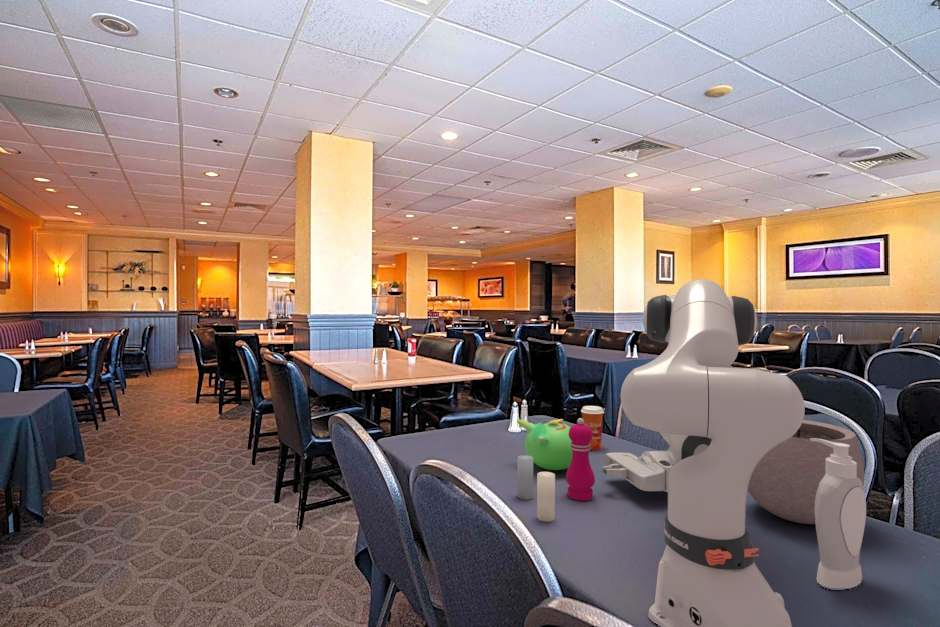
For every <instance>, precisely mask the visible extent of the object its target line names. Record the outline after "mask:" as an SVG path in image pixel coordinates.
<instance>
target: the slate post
mask: <svg viewBox="0 0 940 627" xmlns="http://www.w3.org/2000/svg"><path fill="white" fill-rule="evenodd" d="M516 459H517V460H516V461H517V464H516V465H517V467H516V469H517V472H516V473H517V475H516V476H517V477H516V478H517V479H516V480H517V481H516V482H517V483H516V484H517V485H516V487H517V488H516V489H517V490H516V491H517V492H516V496H517V498H518V499H519V498H520V500H523V499H524V501H529V500H528V499H530V500H532V499H533V498H534V462H533V457H532V456H528V454H526V455H518V456H517V458H516Z"/></svg>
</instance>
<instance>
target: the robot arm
mask: <svg viewBox="0 0 940 627" xmlns="http://www.w3.org/2000/svg"><path fill="white" fill-rule="evenodd" d="M642 325H643V328H644V331H645V332H646V336H647V337H648V338H649V339H650V341H653V342H656V343H661V344H666V343H668V344H667V347H666V348H665V349H664V351H663V352H662V353H660V355H658V356H657V357H655V358H654V359H653V360H651V361H649V362H648V363H645V364H643V365H641V366H637V367H635V368H633V369H632V370H631V371H630V372H629V373H628V374H627V376H626V377H625V379H624V380H623V383H622V385H621V388H620V403H621V408H622V410H623V412H624V415H625V416H626V418H627V419H628V421H629V422H630V423H631V424H632V425H633V426H636V427H640V428H643V429H646V430H650V431H654V432H656V433H658V434H659V435H660V436H661V437H662V438H663V439H664V440H665V441H666V442H667V444H668V446H669V447H668V449H667V450H651V451H648V450H647V451H643V452H642V454H641V456H637V455H635V454H633V453H630V452H607V453H606V454H605V461H604V462H605V466H604V465H603V466H602V468H601V470H602V474H603V475H604V474H605V476H607V477H609V478H610V477H612V478H613V477H614V478H620V479H624V480H626V481H628V482H629V483H630V484H631V485H633V486H634V487H636V488H637V489H639V490H641V491H644V492H665V493H667V514H666V515H665V517H664V524H663V532H664V539H663V540H664V541H665V544H666V546H665V549H664V551H663V554H662V557H661V558H660V560H659V563H658V567H657V577H656V578H657V579H656V585H655V586H656V587H655V597H654V603H653V604H652V605H651V606H650V607H649V608H648V619H649V620H650V621H651V622H653V623H654V624H655V623H656V624H658V625H659V626H661V627H793V626H792V622H791V617H790V615H789V613H788V610H786V608H785V605H786V604H785V600H784V598H783V596H782V595H781V594H780V593H779V592H776V591H775V592H774V590H773V589H772V587H771V586H770V584H769V582H768V581H767V580H766V578H765V576H764V575H763V573H761V571H760V569H759V568H758V566H757V565H756V563H755V560H756V559H755V557H759V556H760V554H759V553H756V552H759V551H760V549H759V547H754V548H753V547H752V541H751V538H750V536H749V532H748V529H747V527H746V512H747V511H746V510H747V499H748V493H749V492H748V485H749V481H750V478H751V475H752V473H753V471H754V469H755V467H756V466H757V464H758V463H759V461H760V460H761V459H762V458H763V457H764V456H765V455H766V454H767V452H769V451H770V450H771V449H772V448H773V447H775V446H776V445H778V444H780V443H781V442H783V441H785V440H787V439H789V438H790V437H792V436H793V435H794V434H795V433H796V432H797V430H798V429H799V428H800V426H801V424H802V422H803V420H805V419H804V417H805V412H806V411H805V408H806V406H805V401H804V398H803V396H802V395H801V392H802V391H800V389H799V387H798V386H797V385H796V384H795V382H794V381H793V380H792V379H791V378H789V376H787V375H784V374H780V373H775V372H772V371H767V370H761V369H756V368H746V367H731V366H732V364H734V361H735V360H736V359H737V357H738V353H739V348H740V347H739V346H743V345H747V344H748V343H749V342H751V341H752V340H753V339H754V338H753V337H754V335H755V333H756V331H757V327H758V314H757V312H756V309H755V307H754V304H753V303H752V302H751V301H750V300H749V299H748V298H745V297H742V296H737V295H731V296H728V295H727V294H726V291H725V290H724V289H723V288H722V287H721V286H720V285H719V284H718V283H717V282H715V281H712V280H708V279H703V278H701V279H700V278H699V279H695V280H690V281H688V282H687V283H685V284H683V285H682V286H681V287H680V288H679V290H678V291H677V292H676V294H674V295H667V294H661V295H656V296H654V297H652V298H650V299H649V300H648V301H647V304H646V306H645V308H644V311H643V314H642ZM658 625H657V626H658ZM659 626H658V627H659Z"/></svg>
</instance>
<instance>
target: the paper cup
mask: <svg viewBox="0 0 940 627" xmlns="http://www.w3.org/2000/svg"><path fill="white" fill-rule="evenodd" d="M580 412H581V418H582V419H583V420H584V424H585V425H587V426H589V427H590V428H591V430H592V434H593V437H592V440H591V441H590V442H589V443H590V448H591V449H590V450H599V449H600V450H601V447H602V437H603V436H602V434H603V423H604V422H603V420H604V419H603V417H604V414H605V411H604V409H603V407H601V406H596V405H584V406H582V408H581V410H580ZM600 450H599V451H600Z"/></svg>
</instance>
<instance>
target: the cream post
mask: <svg viewBox="0 0 940 627" xmlns="http://www.w3.org/2000/svg"><path fill="white" fill-rule="evenodd" d="M536 477H537V478H536V480H537V481H536V485H537V487H536V493H537V494H536V495H537V496H536V501H537V502H536V508H537V509H536V518H538V519H537V520H539V521H541V522H544V523H545V522H546V523H548V522H550V523H551V522H553V521H555V519H556V513H555V511H556V504H555V503H556V474H555V473H554V472H551V471H539V472H537V474H536Z"/></svg>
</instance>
